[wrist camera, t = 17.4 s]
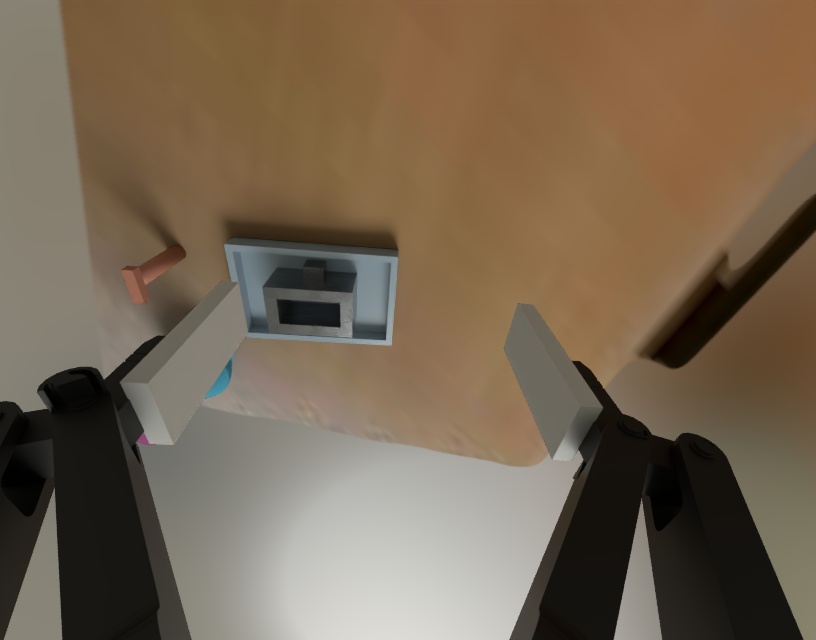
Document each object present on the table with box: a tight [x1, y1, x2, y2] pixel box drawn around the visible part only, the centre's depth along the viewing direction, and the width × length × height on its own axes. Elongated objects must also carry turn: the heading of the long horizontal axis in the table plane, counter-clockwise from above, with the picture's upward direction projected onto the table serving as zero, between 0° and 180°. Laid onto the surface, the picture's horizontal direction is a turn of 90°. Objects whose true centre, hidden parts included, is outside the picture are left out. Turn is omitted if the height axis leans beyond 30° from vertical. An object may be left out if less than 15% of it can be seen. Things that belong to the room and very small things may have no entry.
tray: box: [224, 237, 398, 345], centre depth 44 cm, size 13×20×2 cm, turn 85°
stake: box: [121, 245, 186, 304], centre depth 38 cm, size 4×2×9 cm, turn 175°
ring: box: [262, 259, 357, 338], centre depth 41 cm, size 10×8×6 cm
